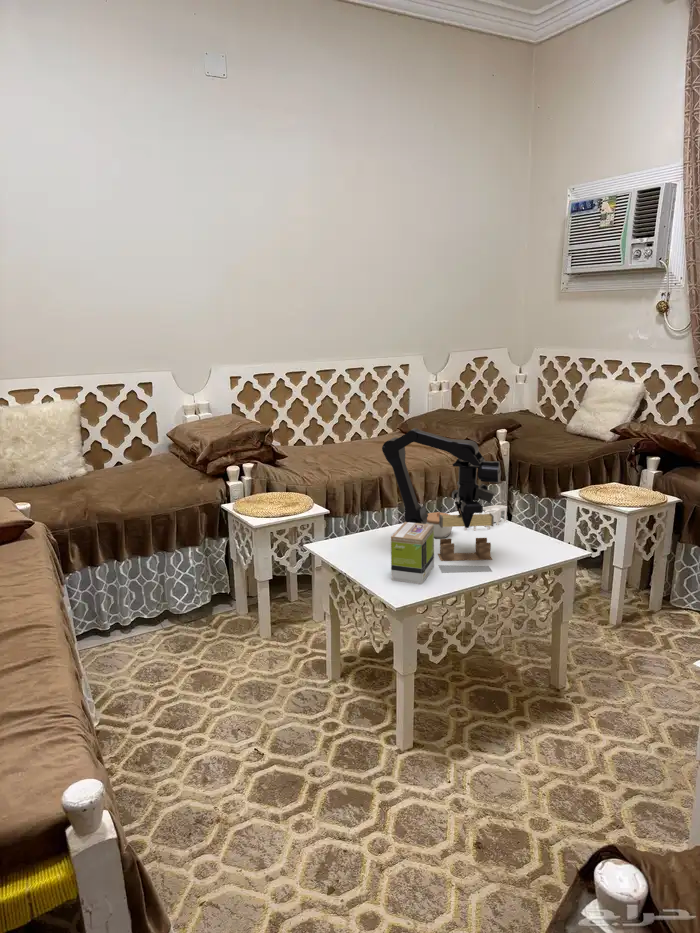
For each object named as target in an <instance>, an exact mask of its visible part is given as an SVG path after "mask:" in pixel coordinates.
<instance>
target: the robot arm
mask: <svg viewBox="0 0 700 933" xmlns="http://www.w3.org/2000/svg"><path fill="white" fill-rule="evenodd" d="M413 443H417V444H421V445H423V446H427V447H430V448H433V449H436V450H441V451H445V452H447V453H449V454H451V455H452V456H453V457H455V458H457V459H456V461H454V462H453V463H452V467H458V481H456V485H457V487H458V488H457V489H454V490H452V492H451V498H452V500H453V501H454V500H456V501H454V504H455V507H456V510H457V512H458V515H461V516H462V519H463V522H464V525H465V528H467V529H468V528H470V527H471V526H470V523H471V520H472V517H473V514H474V513H475V514H479V513H482V514H483V511H484V510H483V507H484V506H483V505H482V504H481V503H480V501H479V500H482V501H485V502H486V503H489V504H491V503H492V501H493V498H494V496H495V493H494V492H493V491H491V490H490V489H489V488H488V486H487V485H486V484H485V483H496V484H499V483H501V482H500V481H501V478H502V470H501V462H500V461H499V460H493V461H491V460H486V459H485V457H484V456H483V455H482V453H481V451H480V448H479V445H478V444H477V442H475V441H474V440H468V439H456V438H450V437H446V436H442V435H439V434H436V433H432V432H427V431H424V430H421V429H419V428H412V429H410V430H408V431H407V432H406V433H405V434H403V435H401V436H400V437H397V436H395V437H392V438H390V439H389V440H387V441H385V442H383V444H382V447H381V451H382V454H383V456H384V457H385V459H386V461H387V462H388V463H389V465H390V466H391V467H392V470H393V473H394V478H395V479H396V483H397V486H398V489H399V493H400V496H401V499H402V503H403V505H404V523H405V522H410V523H421V524H426V523H427V517H428V513H427V510H426V506H425V504H423V505H421V504H420V503H419V502H418V499H417V496H416V493H415V490H414V486H413V483H412V480H411V478H410V477H411V476H410V474H409V470H408V467H407V464H406V448H405V447H407V446H409V445H411V444H413ZM477 478H478V480H480V482H482V484H481V485H479V484H478V483H477ZM483 482H485V483H483Z"/></svg>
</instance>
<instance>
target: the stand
mask: <svg viewBox="0 0 700 933" xmlns="http://www.w3.org/2000/svg"><path fill="white" fill-rule="evenodd" d="M491 547H492V543H491V542H488V537H475V550H474V551H475V552H455V543H452V538H439V553H437V556H438V557H439V560H440V562H452V561H453V562H455V561H457V562H458V561H459V562H460V561H462V562H463V561H491V560H493V558H492V556H491Z"/></svg>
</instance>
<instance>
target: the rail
mask: <svg viewBox="0 0 700 933" xmlns="http://www.w3.org/2000/svg"><path fill="white" fill-rule="evenodd" d="M494 523H495V522H494V516H493V515H492V514H491V513H489V514H484V513H482V514H479V513H475V514H473V517H472V520H471V523H470V526H469V527H474V526H476V527H484V526H486V527H488V526H490V527H494ZM439 525H440V527H441V528H443V527H452V528H453V527H464V526H465V525H464V522H463V519H462V516H461V515H459V514H450V515H439Z"/></svg>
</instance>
